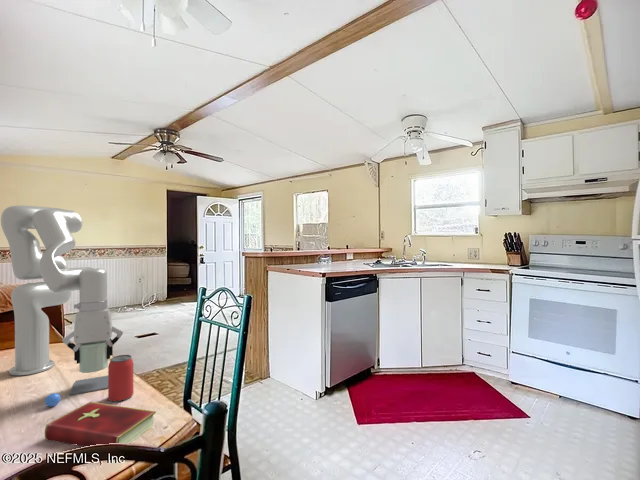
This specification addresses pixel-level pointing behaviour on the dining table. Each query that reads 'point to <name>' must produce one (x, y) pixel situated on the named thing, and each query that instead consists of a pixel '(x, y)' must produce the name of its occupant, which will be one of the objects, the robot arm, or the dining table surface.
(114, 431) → the hardcover book
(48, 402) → the marble
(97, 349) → the mint green domed cylinder
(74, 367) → the dining table surface
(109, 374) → the beer can
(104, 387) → the slate mat
